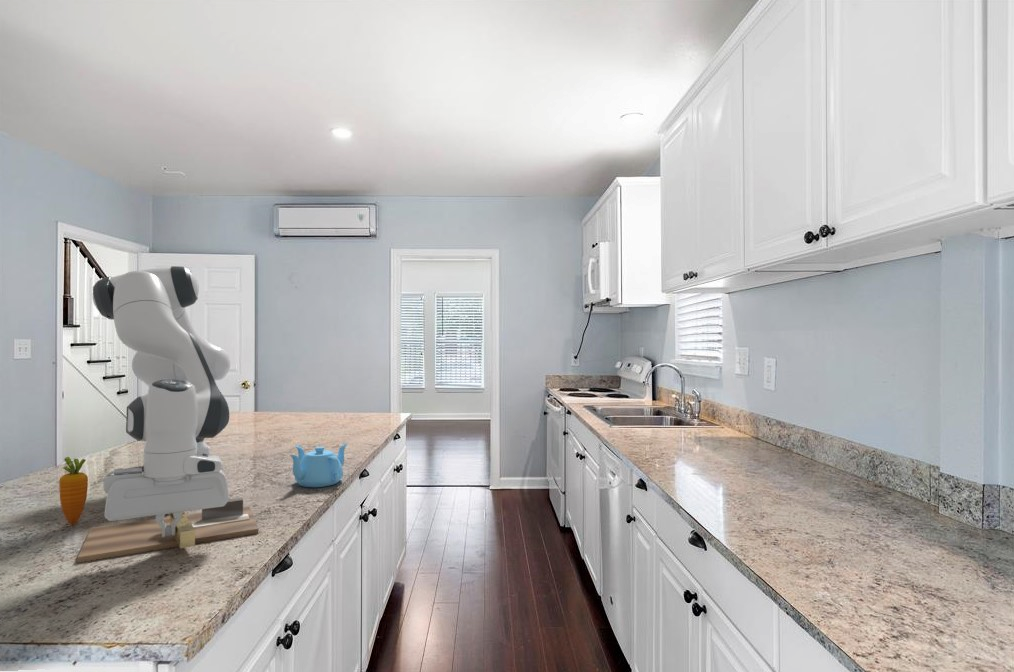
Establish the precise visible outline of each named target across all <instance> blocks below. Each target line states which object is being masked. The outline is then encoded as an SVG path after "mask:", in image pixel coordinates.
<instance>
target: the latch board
mask: <svg viewBox="0 0 1014 672" xmlns="http://www.w3.org/2000/svg"><path fill="white" fill-rule="evenodd" d="M169 514H170V515H172V513H169ZM185 515H186V517H187V518H188V520H189V521H190V523H191V524H192V526H193V527H194V529H195V543H196V544H200V543H201V542H202V543H206V542H215V541H220V540H225V539H230V538H231V539H232V538H237V537H244V536H250V535H257V534H259V531H260V530H259V529H260V528H259V525H258V524H257V522H256V519H255V517H254V514H253V512H252V509H251V506H250V505H245V506H244V499H243V497H238V498H231V499H229V498H228V502H227V503H226V504H225V506H223V507H215V508H208V509H201V512H196V513H188V514H185ZM163 521H164V523H165V524H166V525H170V516H166V517H165V516H164V520H163ZM170 547H171V548H177V547H179V546H178V544H177V542H176V540H175V538H174V536H167V537H162V529H161V527H160V526H159V525H158V523H157V522H156V518H152V519H144V520H136V521H129V522H124V523H123V522H122V523H116V524H108V525H102V526H94V527H91V528H90V530H89V533H88V534H87V537H86V538H85V541H84V543H83V545H82V547H81V549H80V552H79V553H78V555H77V563H85V561H86V562H91V560H92V561H97V560H96V559H98V560H103V558H104V559H110V558H115V556H116V557H121V556H128V555H134V554H140V553H146V552H151V550H153V551H158V549H159V550H164V548H165V549H169V548H170ZM171 548H170V549H171ZM109 557H110V558H109Z"/></svg>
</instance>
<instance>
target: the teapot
mask: <svg viewBox="0 0 1014 672" xmlns="http://www.w3.org/2000/svg"><path fill="white" fill-rule="evenodd" d="M348 444H349V443H348V442H346V443H343V444H342V445H340V447H339V448H338V449H339V450H338V453H337V454H336V453H335V452H334V451H332V450H325V447H324V446H316V447H314V450H313V451H307V452H306V453H305V450H304V448H303V447H302V446H301V445H296V444H295V445H294V446H295V448H296V449H297V453H298V455H296V454H290V453H289V456H290V457H291V458H292V462H293V463H292V474H293V476H294V480H295V481H296V482H297V484H298V485H299V486H301V487H304V488H324V487H328V486H333V485H336V484H338V483H339V482H340V481H341V479H342V478H343V476H344V469H343V466H344V465H345V464H344V463H345V449H346V446H347V445H348Z"/></svg>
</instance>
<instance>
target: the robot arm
mask: <svg viewBox="0 0 1014 672" xmlns="http://www.w3.org/2000/svg"><path fill="white" fill-rule="evenodd" d="M199 288H200V287H199V283H198V280H197V278H196V276H195V275H194V274H193V273H192V271H191V270H190V269H189V268H187V267H186V266H170V267H159V268H158V267H157V268H147V269H141V270H132V271H128V272H126V273H123V274H119V275H115V276H111V275H110V276H107V277H104V278H101V279H99V280H97V281H96V282H95V284H94V285H93V287H92V301H93V305H94V306H95V308H96V309H97V311H98V312H99V314H100V315H101V316H102V317H104V318H106V319H109V320H113V322H114V326H115V331H116V335H117V336H118V337H117V338H119V340H120V341H121V342H122V344H123V345H124V346H126V347H128V348H129V349H131V350H132V351H135V352H136V353H135V354H134V356H133V358H132V361H131V368H132V372H133V374H134V376H135V377H136V378H137V379H138V380H140V381H142V382H143V383H144V384H145V385H147V387H148V391H147V393H146V394H145V395H141V396H140V395H139V396H138V397H136V398H135V399H133V400H132V401H131V402H130V404H128V405H127V406H126V423H125V424H126V425H125V431H126V434H128V436H130V437H131V438H133V439H134V440H136V441H138V442H145V445H144V449H143V465H142V466H132V467H127V468H124V467H122V468H119V467H118V468H115V469H114V470H112V471H110V472H109V473H107V474H105V477H103V491H104V492H105V493H106V494H107V495H106V500H105V506H104V518H105V519H106V520H107V521H109V522H112V521H113V522H114V521H121V520H128V519H129V520H130V519H136V518H145V517H153V516H155V519H156V522H157V523H158V525H159V526H160V527H161V529H162V537H167V536H174V535H175V527H176V526H177V524H178V523H179V521H180V520H181V518H182V512H184V511H185V512H190V511H200V510H202V509H208V508H215V507H223V506H225V504H226V503H227V502H228V500H229V488H228V481H227V477H226V475H225V473H224V471H223V470H222V467H223V462H222V461H223V460H222V459H221V458H220V456H219V455H216V454H211V448H210V446H209V445H208V444H207V443H205V441H204V440H205V439H213V438H215V437H216V436H218V435H219V434H220V433H221V432H222V431H223V430H225V428H226V427H227V426H228V424H229V421H230V408H229V404H228V402H227V400H226V398H225V396H224V394H223V393H222V392H221V391H220V390H221V389H219V386H217V383H216V381H221V380H223V379H224V378H225V377H226V376H227V375H228V373H229V370H230V368H231V359H230V356H229V354H228V353H227V351H226V350H225V349H224V348H222V347H219V346H217V345H214V344H213V343H211V342H209V340H206V338H204V337H203V336H202V335H201V334H199V332H198V331H197V330H196V329H195V328H194V326H193V323H192V322H191V320H190V318H189V315H188V312H187V310H186V308H187V307H191V306H192V305H194V304H196V302H197V300H198V299H199V297H198V296H199V291H200V289H199ZM195 438H196V439H195ZM170 513H174V518H175V519H174V521H173V522H172V524H171V525H166V524H165V523H164V521H163V520H164V518H165V515H167V514H170Z"/></svg>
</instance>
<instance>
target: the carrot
mask: <svg viewBox="0 0 1014 672" xmlns="http://www.w3.org/2000/svg"><path fill="white" fill-rule="evenodd" d="M63 460H64V462H65V464H67V466H63V467H62V468H63V470H65V471H66V472H68V473H67V474H63V475H62V476H61V477H60V478H59V481H58V482H59V483H58V484H59V486H58V487H59V488H58V489H59V501H60V506H61V510H62V513H63V516H64V518H65V520H66V521H67V523H68V525H70V526H72V527H74V526H76V524H77V523H78V522H79V520H80V519H81V517H82V514H83V512H84V511H85V510H84V509H85V506H86V502H87V496H88V486H89V484H88V482H89V476H88V475H87V474H86V473H84V472H83V471H82V472H80V471H81V468H82V467H83V465H84V463H85V462H86V459H85V458H82V459H81V460H79V458H73V460H72V459H71V458H70V457H69V456H67V457H65V458H64V459H63ZM73 462H74V463H73Z"/></svg>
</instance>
